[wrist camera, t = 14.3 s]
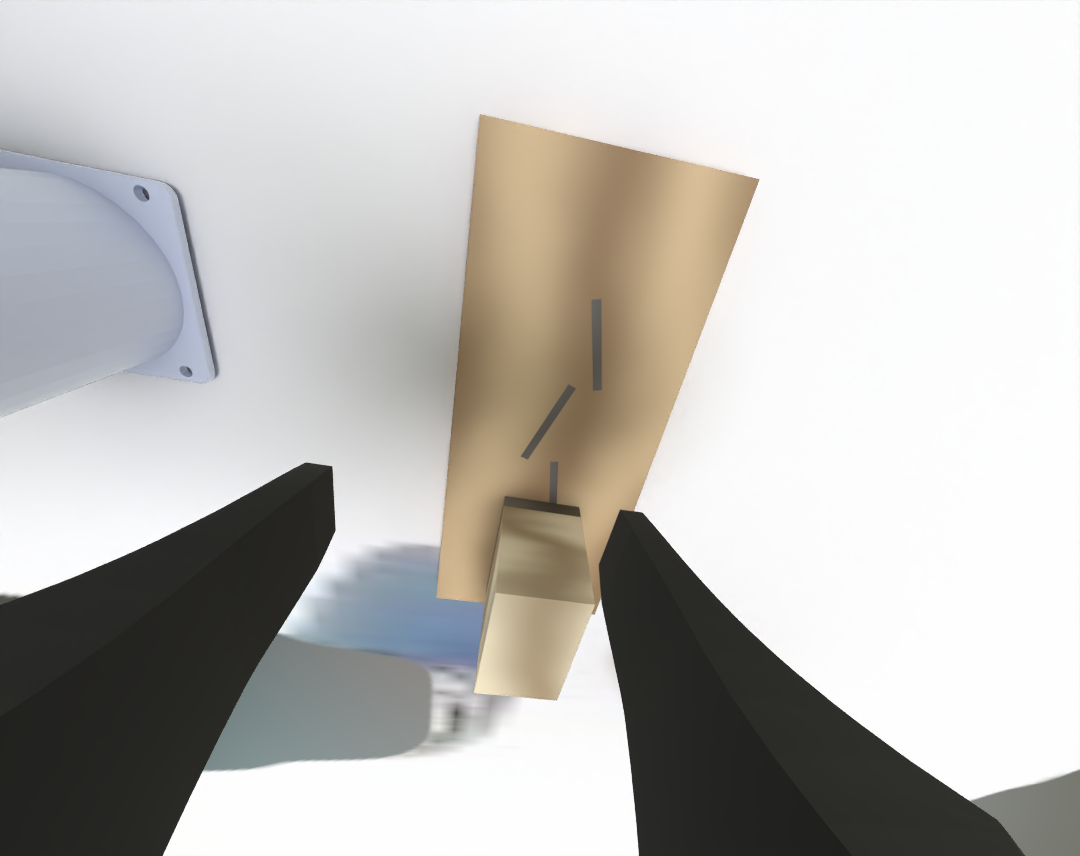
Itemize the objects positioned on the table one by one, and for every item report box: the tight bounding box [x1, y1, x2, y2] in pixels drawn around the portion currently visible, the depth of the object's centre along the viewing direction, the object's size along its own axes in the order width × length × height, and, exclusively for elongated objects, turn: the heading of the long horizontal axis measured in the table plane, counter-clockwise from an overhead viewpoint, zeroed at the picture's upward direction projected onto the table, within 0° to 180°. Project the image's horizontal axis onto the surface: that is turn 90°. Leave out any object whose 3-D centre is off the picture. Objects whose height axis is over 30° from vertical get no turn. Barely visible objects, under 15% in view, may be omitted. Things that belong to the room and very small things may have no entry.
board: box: [436, 114, 759, 614], centre depth 20 cm, size 10×24×1 cm, turn 170°
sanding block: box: [474, 496, 595, 700], centre depth 20 cm, size 4×7×6 cm, turn 169°
